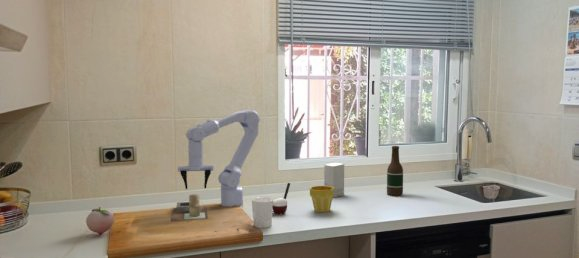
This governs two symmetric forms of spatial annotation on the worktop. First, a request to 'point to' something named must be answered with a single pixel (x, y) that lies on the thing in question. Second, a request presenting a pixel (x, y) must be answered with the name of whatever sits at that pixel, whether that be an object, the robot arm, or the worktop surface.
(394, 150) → the beer bottle
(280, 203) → the cocoa
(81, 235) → the worktop surface
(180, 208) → the grey square frame
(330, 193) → the plant pot
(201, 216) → the pad
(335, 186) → the skincare box
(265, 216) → the white cup
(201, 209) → the walnut board
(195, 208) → the maple peg
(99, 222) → the decorative fruit
